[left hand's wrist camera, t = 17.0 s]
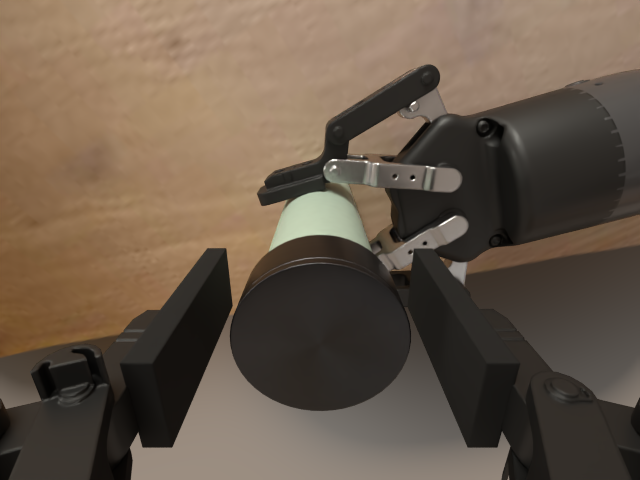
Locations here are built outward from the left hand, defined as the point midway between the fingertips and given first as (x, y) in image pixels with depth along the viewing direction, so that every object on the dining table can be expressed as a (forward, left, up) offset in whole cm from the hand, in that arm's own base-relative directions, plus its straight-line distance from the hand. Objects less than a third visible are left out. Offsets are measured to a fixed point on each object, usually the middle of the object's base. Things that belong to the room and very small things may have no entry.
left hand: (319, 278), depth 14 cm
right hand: (-3, -1, -6) cm, 7 cm away
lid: (0, 0, +4) cm, 4 cm away
